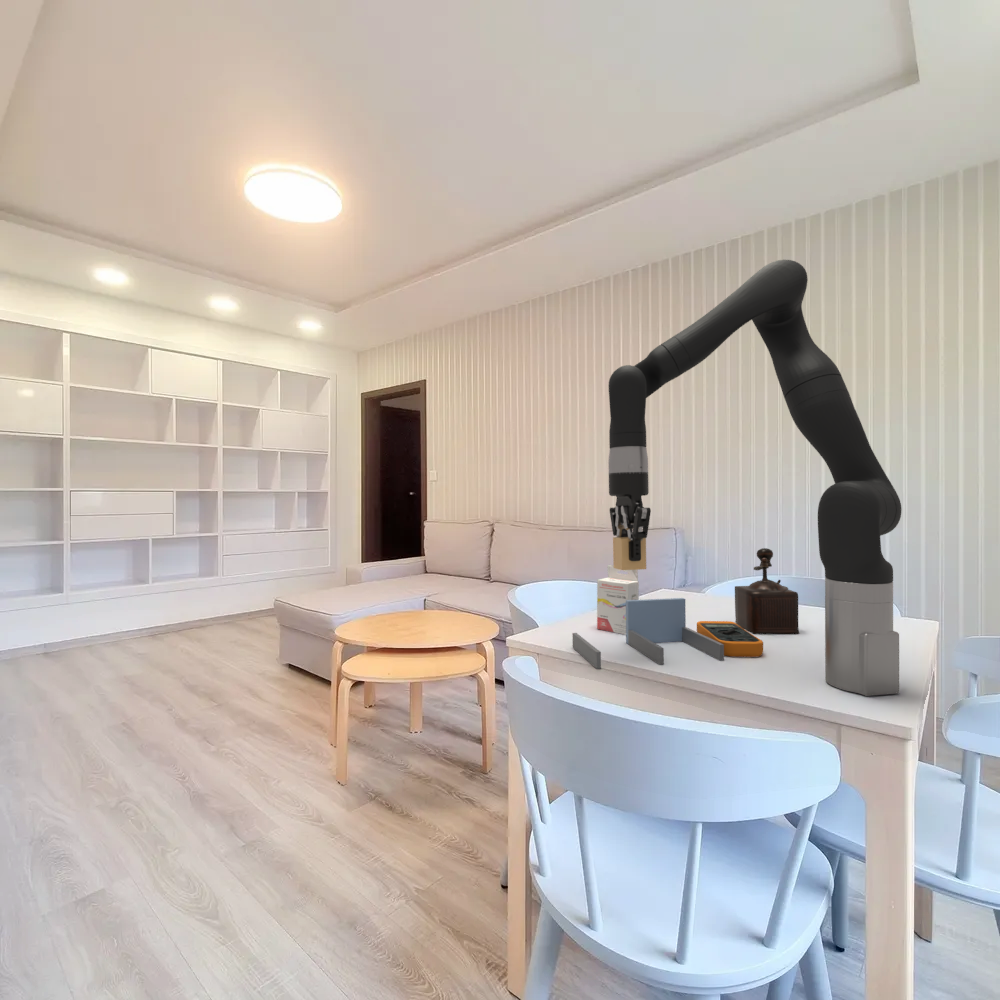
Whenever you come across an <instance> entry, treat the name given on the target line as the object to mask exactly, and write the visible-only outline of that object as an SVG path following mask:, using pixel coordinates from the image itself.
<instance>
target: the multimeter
mask: <svg viewBox="0 0 1000 1000" xmlns="http://www.w3.org/2000/svg"><path fill="white" fill-rule="evenodd" d="M696 632H698V633H700V634H702V635H704V636H706V637H709V638H711V639H713V640H715V641H717V642H720V643H722V644H724V657H730V658H731V657H732V658H758V657H759V658H760V657H761V656H763V653H764V641H763V640H762V639H760V638H758V637H757V636H755V634H753V633H751V632H749V631H747V630H745V629H743V628H741V627H740V626H739V625H737V624H736V622H735V621H728V620H726V621H725V620H723V621H722V620H717V621H715V620H699V621H697V622H696Z"/></svg>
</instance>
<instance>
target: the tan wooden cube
mask: <svg viewBox="0 0 1000 1000" xmlns="http://www.w3.org/2000/svg"><path fill="white" fill-rule="evenodd" d="M629 542H630V541H629V540H628V537H617V536H615V537H614V536H613V537H612V550H613V551H612V553H613V555H612V557H613V559H612V560H613V561H612V562H613V564H612V565H613V567H614V568H616V569H619V570H621V571H623V570H647V538H643V540H642V541H641V560H640V561H630V560H629Z"/></svg>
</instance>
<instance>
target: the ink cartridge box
mask: <svg viewBox="0 0 1000 1000" xmlns="http://www.w3.org/2000/svg"><path fill="white" fill-rule="evenodd" d="M621 571H623V572H626V574H625V573H619V572H621ZM638 573H639V571H638V570H619V569H616V568H614V567H613V564H612V565H610V564H608V565H607V577H603V578H599V579H597V580H596V581H597V584H596V588H597V589H596V590H597V591H596V596H597V597H596V600H597V601H596V607H597V609H596V611H597V612H596V618H597V619H596V622H597V623H596V629H597V630H602V631H607V632H611V633H616V634H620V635H625V636H626V600H640V599H639V597H640V596H639V592H640V591H639V590H640V588H639V586H640V584H639V583H640V582H639V575H638Z"/></svg>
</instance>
